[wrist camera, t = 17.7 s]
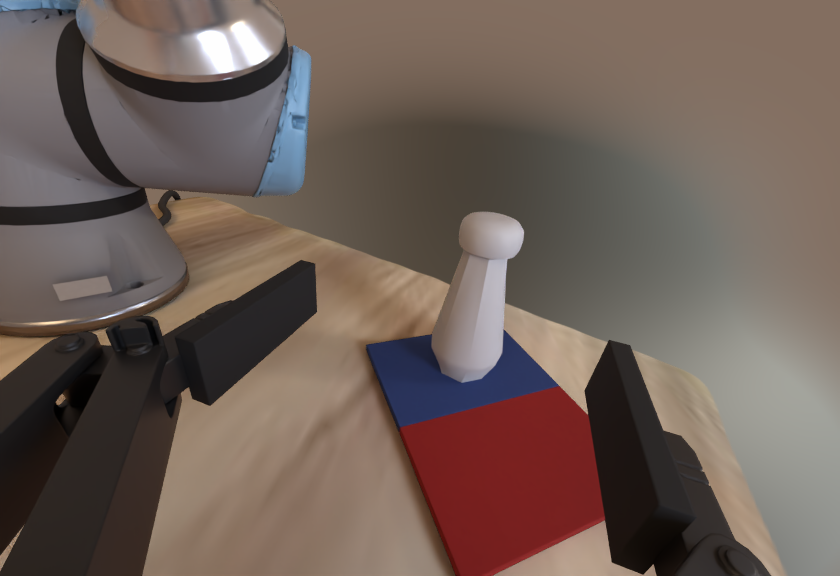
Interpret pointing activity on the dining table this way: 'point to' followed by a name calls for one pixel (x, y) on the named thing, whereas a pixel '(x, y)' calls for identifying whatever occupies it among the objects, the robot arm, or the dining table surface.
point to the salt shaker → (476, 297)
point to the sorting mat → (492, 453)
